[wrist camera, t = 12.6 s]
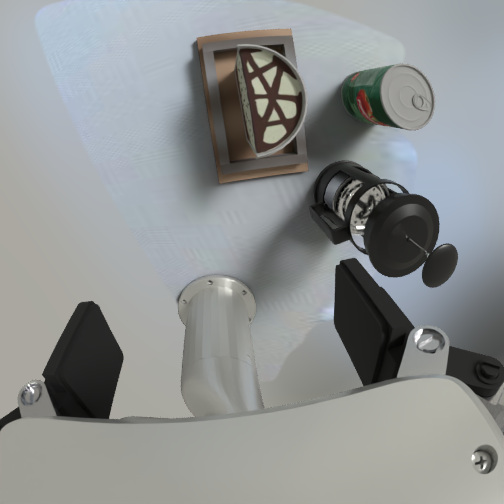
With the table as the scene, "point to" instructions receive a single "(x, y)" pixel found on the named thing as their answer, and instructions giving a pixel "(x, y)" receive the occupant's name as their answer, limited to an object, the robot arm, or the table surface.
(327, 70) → the table surface
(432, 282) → the french press
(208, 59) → the wooden tray
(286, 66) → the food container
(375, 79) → the canned tomato
